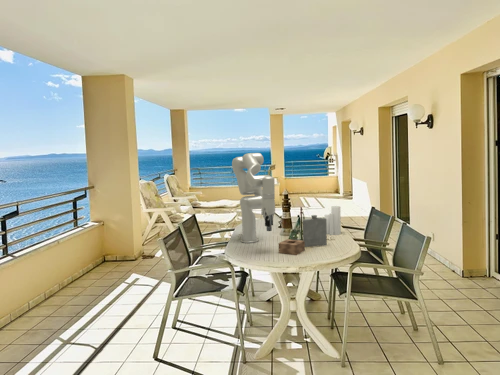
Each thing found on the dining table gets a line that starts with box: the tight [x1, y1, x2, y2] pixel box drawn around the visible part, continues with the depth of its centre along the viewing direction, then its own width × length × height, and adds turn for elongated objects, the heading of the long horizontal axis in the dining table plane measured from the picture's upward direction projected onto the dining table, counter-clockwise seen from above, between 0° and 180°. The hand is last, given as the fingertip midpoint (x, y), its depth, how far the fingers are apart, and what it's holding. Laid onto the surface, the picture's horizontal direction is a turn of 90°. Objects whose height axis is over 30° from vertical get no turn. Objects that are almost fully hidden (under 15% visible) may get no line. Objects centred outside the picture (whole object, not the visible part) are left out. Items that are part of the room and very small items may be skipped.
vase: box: [324, 205, 342, 236], centre depth 289 cm, size 11×7×20 cm, turn 90°
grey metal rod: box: [266, 214, 273, 232], centre depth 244 cm, size 3×3×12 cm
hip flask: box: [302, 214, 328, 248], centre depth 257 cm, size 16×4×20 cm, turn 100°
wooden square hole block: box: [278, 238, 306, 256], centre depth 244 cm, size 12×12×6 cm
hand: (269, 225), depth 245 cm, fingers closed on grey metal rod, 3 cm apart
